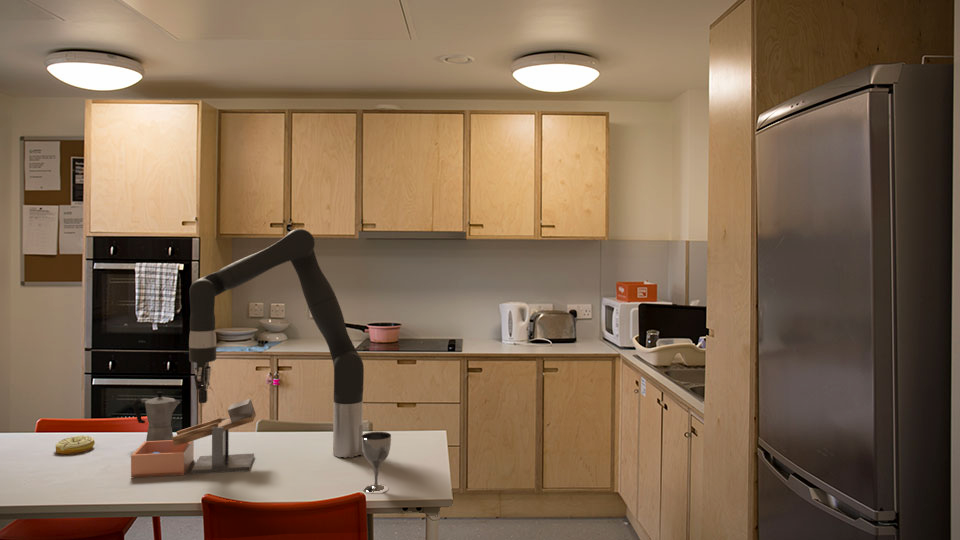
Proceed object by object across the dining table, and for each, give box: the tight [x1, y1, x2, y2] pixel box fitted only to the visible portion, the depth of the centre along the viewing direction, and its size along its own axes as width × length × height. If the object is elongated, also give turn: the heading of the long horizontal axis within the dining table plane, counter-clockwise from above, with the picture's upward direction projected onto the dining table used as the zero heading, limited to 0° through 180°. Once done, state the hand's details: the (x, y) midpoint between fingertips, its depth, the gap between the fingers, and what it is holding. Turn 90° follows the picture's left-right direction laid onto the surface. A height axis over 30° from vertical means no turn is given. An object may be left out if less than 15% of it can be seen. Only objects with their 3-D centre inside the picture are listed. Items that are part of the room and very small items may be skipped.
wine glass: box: [362, 431, 392, 493], centre depth 183 cm, size 8×8×15 cm
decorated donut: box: [55, 435, 96, 455], centre depth 213 cm, size 10×11×4 cm
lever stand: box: [190, 417, 255, 475], centre depth 200 cm, size 16×13×13 cm
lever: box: [172, 398, 257, 447], centre depth 199 cm, size 23×8×6 cm, turn 102°
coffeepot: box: [132, 391, 181, 441], centre depth 219 cm, size 15×9×18 cm, turn 92°
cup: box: [130, 440, 195, 478], centre depth 197 cm, size 14×14×6 cm
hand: (203, 402), depth 198 cm, fingers closed
